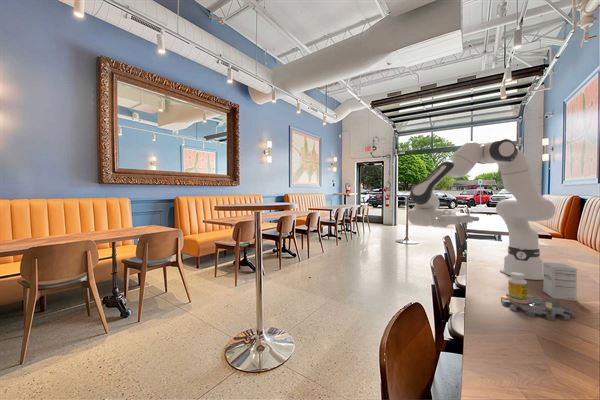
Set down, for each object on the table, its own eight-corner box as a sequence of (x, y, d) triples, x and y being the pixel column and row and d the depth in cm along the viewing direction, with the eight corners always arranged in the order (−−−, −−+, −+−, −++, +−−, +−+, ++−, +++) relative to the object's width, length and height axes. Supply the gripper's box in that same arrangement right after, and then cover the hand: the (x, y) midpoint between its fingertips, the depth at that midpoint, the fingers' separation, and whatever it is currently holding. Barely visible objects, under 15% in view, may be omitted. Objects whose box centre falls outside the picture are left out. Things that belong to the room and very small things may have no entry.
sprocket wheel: (506, 293, 105) (506, 282, 104) (574, 308, 90) (574, 295, 90) (495, 307, 92) (495, 294, 92) (572, 326, 78) (572, 312, 78)
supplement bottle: (511, 295, 98) (511, 270, 98) (529, 299, 94) (529, 274, 94) (506, 298, 95) (506, 273, 95) (524, 303, 91) (524, 276, 91)
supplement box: (542, 291, 106) (542, 261, 106) (566, 294, 103) (566, 263, 103) (552, 298, 99) (552, 266, 99) (577, 301, 96) (577, 268, 96)
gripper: (433, 212, 115) (468, 213, 105) (449, 210, 129) (482, 211, 118) (433, 226, 116) (468, 229, 105) (449, 223, 129) (482, 225, 118)
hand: (475, 219), depth 112 cm, fingers open, 8 cm apart
